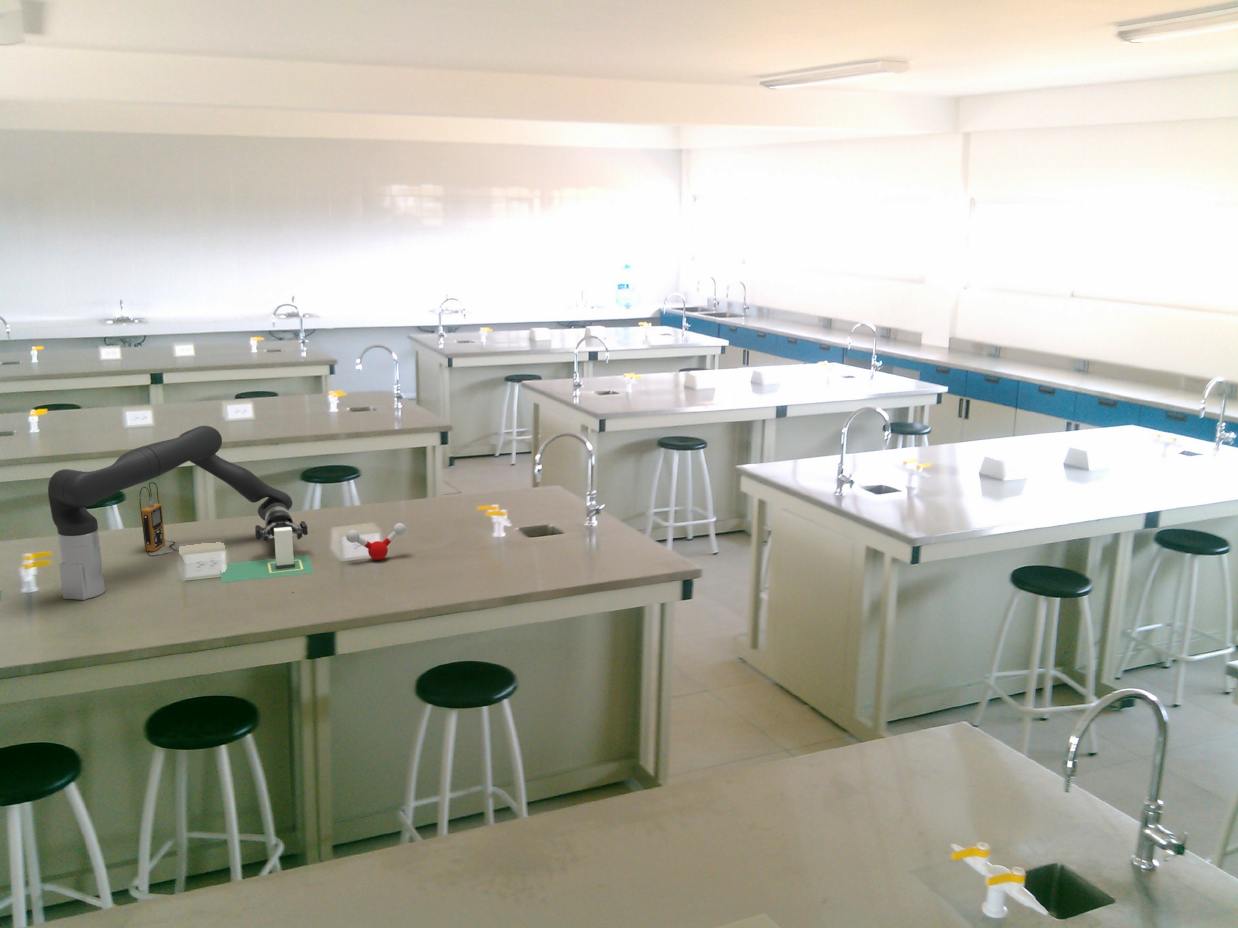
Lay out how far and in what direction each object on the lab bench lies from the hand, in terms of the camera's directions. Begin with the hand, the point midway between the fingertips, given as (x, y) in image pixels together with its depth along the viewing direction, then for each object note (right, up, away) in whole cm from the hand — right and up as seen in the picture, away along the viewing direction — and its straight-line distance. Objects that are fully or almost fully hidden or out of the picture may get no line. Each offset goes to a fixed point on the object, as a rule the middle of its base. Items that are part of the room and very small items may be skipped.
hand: (283, 537), depth 282 cm
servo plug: (+1, -7, -1) cm, 7 cm away
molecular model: (+24, -7, +11) cm, 28 cm away
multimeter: (-40, -5, +17) cm, 44 cm away
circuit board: (-4, -10, -2) cm, 11 cm away
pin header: (+1, -8, -1) cm, 8 cm away
